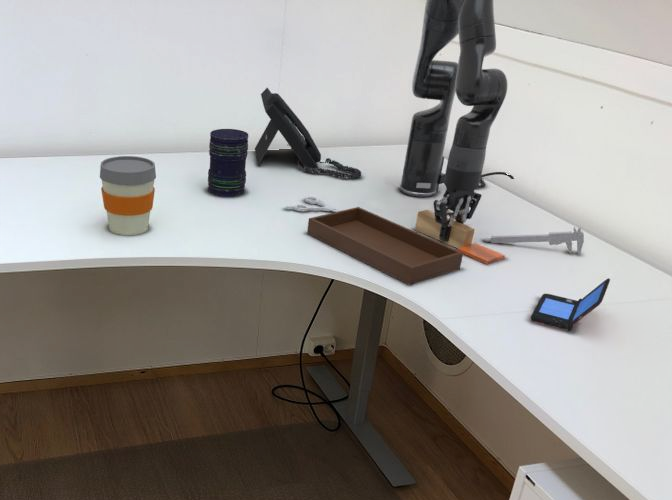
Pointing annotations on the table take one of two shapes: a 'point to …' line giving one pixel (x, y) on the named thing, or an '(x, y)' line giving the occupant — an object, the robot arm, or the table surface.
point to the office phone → (294, 137)
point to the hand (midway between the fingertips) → (449, 238)
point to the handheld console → (567, 308)
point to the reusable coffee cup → (128, 193)
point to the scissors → (306, 208)
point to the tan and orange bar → (456, 237)
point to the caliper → (545, 238)
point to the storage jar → (227, 162)
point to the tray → (385, 245)
